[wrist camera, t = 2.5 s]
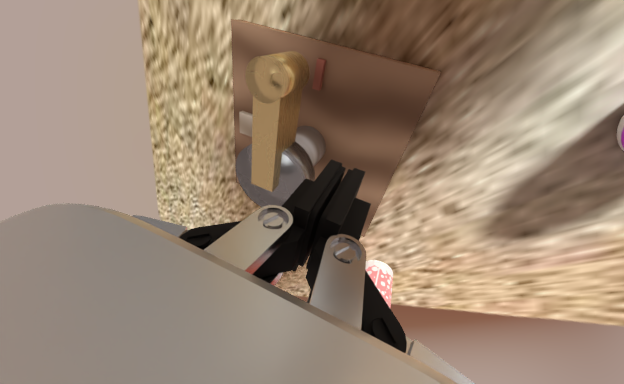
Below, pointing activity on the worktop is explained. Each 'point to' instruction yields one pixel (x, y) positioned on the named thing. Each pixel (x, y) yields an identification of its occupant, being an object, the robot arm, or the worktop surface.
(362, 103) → the post base
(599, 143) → the worktop surface
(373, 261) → the beverage cup
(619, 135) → the supplement bottle
